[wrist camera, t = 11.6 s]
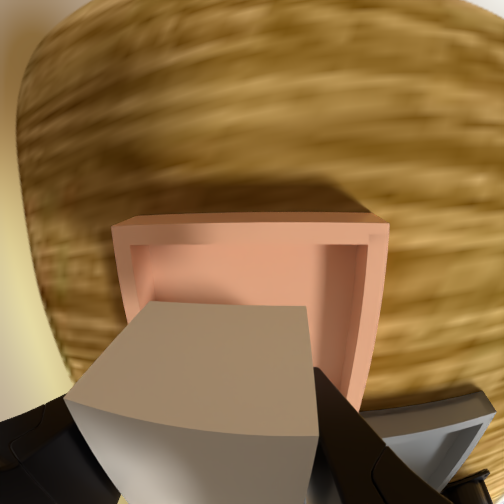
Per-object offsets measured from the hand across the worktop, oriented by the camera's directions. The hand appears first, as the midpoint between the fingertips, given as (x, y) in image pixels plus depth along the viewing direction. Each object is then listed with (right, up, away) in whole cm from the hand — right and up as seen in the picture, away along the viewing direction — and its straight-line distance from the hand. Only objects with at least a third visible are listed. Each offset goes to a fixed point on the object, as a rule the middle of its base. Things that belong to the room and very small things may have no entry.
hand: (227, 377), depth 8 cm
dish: (+1, 0, +7) cm, 7 cm away
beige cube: (0, 0, 0) cm, 0 cm away
